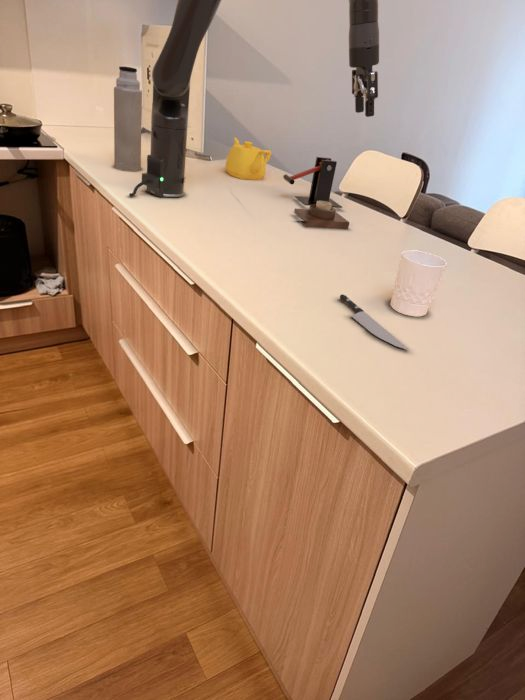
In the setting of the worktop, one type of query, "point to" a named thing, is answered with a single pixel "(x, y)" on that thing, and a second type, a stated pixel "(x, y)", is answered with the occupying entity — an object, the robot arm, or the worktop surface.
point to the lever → (301, 174)
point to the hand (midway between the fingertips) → (364, 114)
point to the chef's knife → (371, 324)
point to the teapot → (247, 161)
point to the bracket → (321, 183)
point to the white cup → (416, 282)
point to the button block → (321, 218)
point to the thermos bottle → (127, 120)
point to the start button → (323, 205)
